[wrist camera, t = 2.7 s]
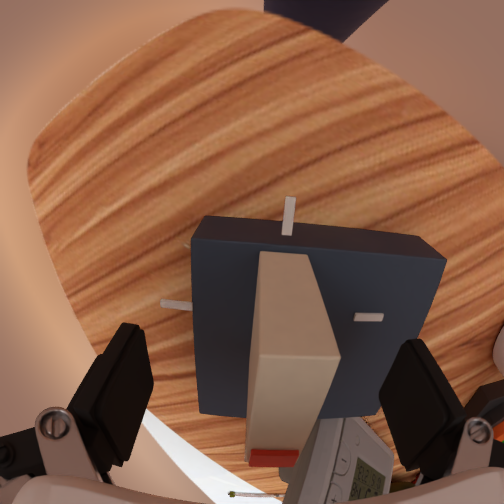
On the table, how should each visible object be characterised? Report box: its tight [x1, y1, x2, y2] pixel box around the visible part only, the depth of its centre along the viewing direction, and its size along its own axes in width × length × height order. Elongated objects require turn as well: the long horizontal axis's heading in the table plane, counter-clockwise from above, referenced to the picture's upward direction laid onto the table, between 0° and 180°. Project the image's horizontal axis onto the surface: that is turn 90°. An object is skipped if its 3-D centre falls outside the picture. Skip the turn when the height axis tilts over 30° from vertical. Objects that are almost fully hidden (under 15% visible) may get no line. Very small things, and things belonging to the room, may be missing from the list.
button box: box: [464, 380, 504, 429], centre depth 19 cm, size 9×8×4 cm
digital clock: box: [279, 417, 394, 504], centre depth 16 cm, size 16×9×11 cm, turn 24°
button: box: [493, 421, 504, 442], centre depth 17 cm, size 4×4×2 cm
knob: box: [244, 251, 341, 467], centre depth 9 cm, size 6×2×6 cm, turn 176°
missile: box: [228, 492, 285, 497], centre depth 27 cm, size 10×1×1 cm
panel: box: [160, 196, 447, 419], centre depth 14 cm, size 13×12×3 cm
